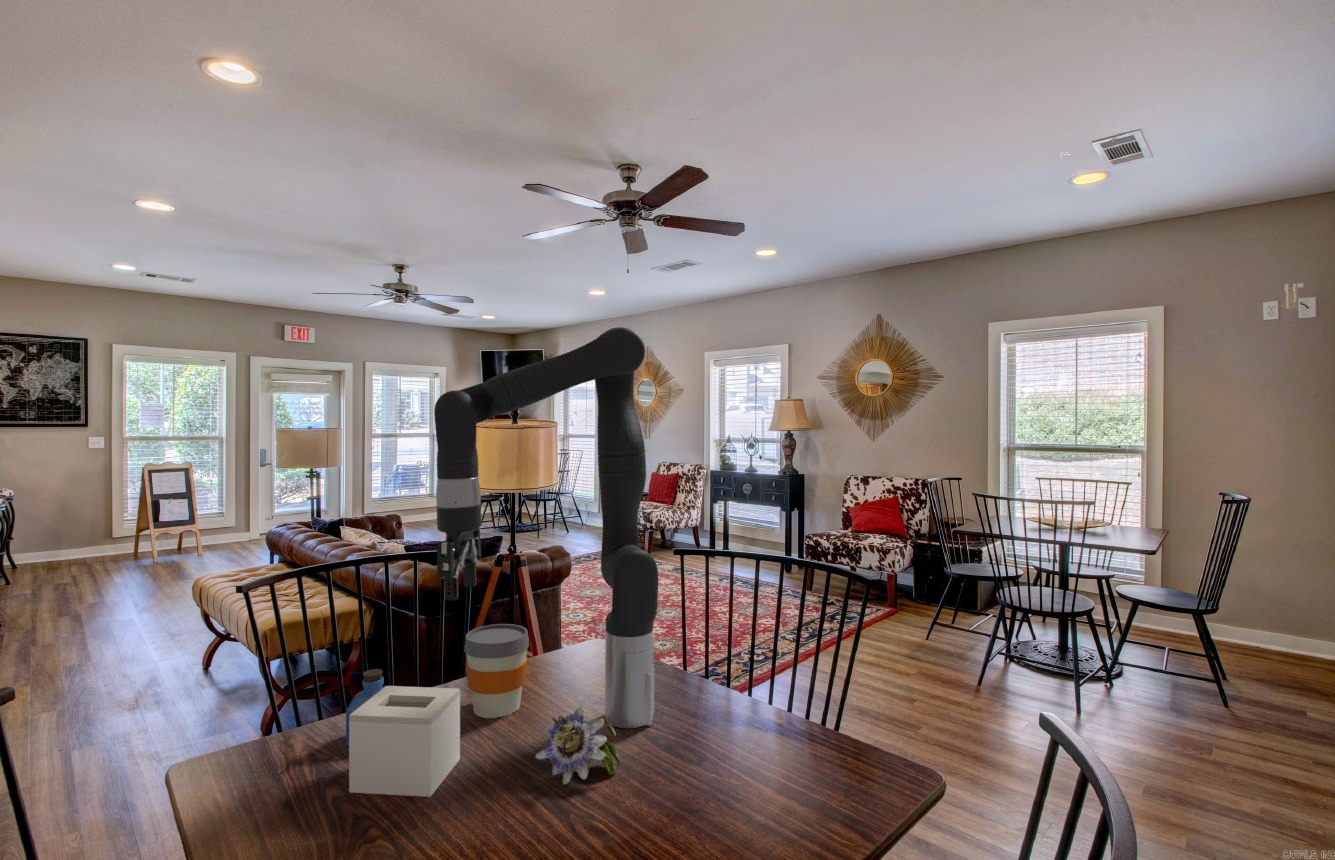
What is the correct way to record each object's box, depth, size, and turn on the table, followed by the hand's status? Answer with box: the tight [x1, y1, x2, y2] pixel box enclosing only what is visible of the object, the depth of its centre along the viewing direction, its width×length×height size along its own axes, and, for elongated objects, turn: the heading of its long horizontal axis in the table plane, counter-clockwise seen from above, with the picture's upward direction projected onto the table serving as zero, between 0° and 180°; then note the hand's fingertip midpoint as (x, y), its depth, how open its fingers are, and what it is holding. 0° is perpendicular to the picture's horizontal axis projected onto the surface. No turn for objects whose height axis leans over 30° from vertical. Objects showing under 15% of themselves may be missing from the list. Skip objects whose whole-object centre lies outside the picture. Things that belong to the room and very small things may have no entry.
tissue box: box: [348, 685, 461, 798], centre depth 103 cm, size 13×11×12 cm
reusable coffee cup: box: [463, 623, 530, 719], centre depth 127 cm, size 13×13×15 cm
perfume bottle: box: [345, 668, 385, 746], centre depth 115 cm, size 6×6×12 cm
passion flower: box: [534, 705, 621, 786], centre depth 105 cm, size 11×11×12 cm
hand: (461, 592), depth 114 cm, fingers open, 8 cm apart
